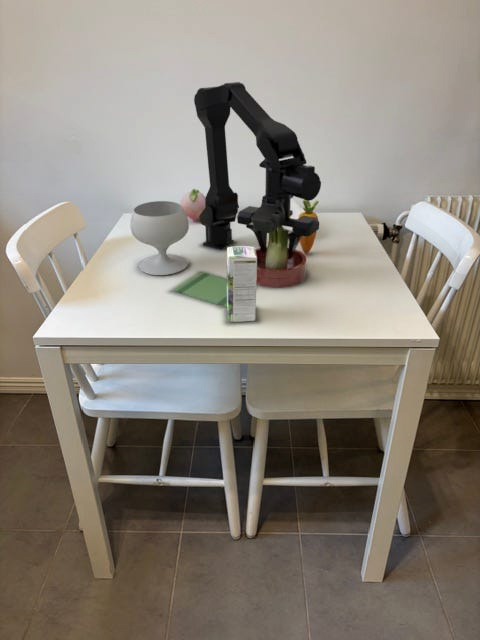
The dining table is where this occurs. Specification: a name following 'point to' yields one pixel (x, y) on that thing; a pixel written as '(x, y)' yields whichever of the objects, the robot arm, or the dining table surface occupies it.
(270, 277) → the bowl
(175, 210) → the chalice
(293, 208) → the white gravy boat
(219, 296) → the tea towel
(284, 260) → the fennel bulb
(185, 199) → the decorative fruit
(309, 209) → the carrot
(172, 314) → the dining table surface
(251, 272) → the syrup box
